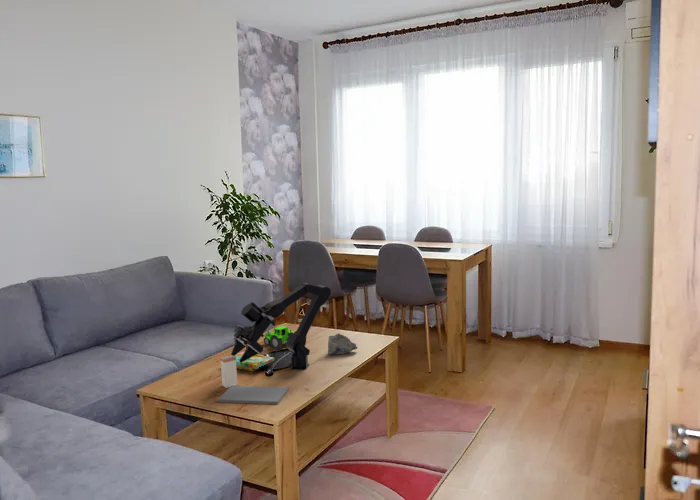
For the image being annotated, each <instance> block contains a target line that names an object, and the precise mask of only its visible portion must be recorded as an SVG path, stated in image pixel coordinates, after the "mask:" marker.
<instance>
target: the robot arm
mask: <svg viewBox="0 0 700 500" xmlns="http://www.w3.org/2000/svg"><path fill="white" fill-rule="evenodd" d="M308 293H309V294H311V296H310V297H311V298H310V300H311V301H310V303H309V306H308V307H307V309H306V311H305V313H304V315H303V317H302V319H301V321H300V324H299V326H298V327H297V329H296V331H292V332H293V333H292V332H290V334H289V337H288V338H287V339H286V340H287V343H286V344H285V345H286V347H287V349H288V350H289V351H290V353H291V354H292V357H290V358H291V360H290V361H291V364H290V365H291V370H307V369H308V367H309V365H310V363H309V361H308V359H309V358H308V356H309V355H310V352H311V351H310V349H309V348H308V347H306V344H307V335H308V333H309V331H310V329H311V327H312V325H313V323H314V322H315V319H316V317H317V315H318V313H319V312H320V309H321V307H322V306H324V304H325V303H327V302H328V300H329V299H330V298H331V295H332V291H331V288H330V287H328V286H325V285H322V284H317V285H313V284H310V283H309V282H303V283H301V285H299V286H298V287H295V288H294V289H293V290H291V291H290V292H289V293H287V294H285V295H284V296H282V297H281V298H278V299H275V300H272V301H269V302H267V303H266V304H265V305H263V306H260V307H259V306H258V305H256V303H255V302H252V301H251V302H249V303H248V304H246V305H245V306H244V307H243V308H242V310H241V311H240V312H241V313H240V314H241V316H243V317H244V318H245V319H246V320H248V321H249V322H250V323H253V324H252V325H249V326H246V325H244V326H242V325H239V324H236V326H235V329H234V331H233V333H234V334H233V340H234V345H233V348H232V351H231V353H230V355H233V356H235V355H236V354H238V353H240V352H242V351H243V349H245V350H244V351H243V352H244V354H243V355H242V357H241V359H240V360H239V362H241V363H242V362H243V361H245V360H247V359H249V358H251V357H252V356H255V355H262V353H263V351H264V346H263V345H262V344H260V343H259V342H258V341H260V339H261V338H265V334H264V333H265V332H267V330H268V329H269V327H270V326H272V327H276V324H275V323H276V322H275V319H277V318H279V317H280V316H281V315H282V314H283V313H284V312H285V311H286V310H287V308H288V307H290V306H291V305H292V304H293V303H295V302H297V301H298V300H300V299H301V298H302V297H304V296H306V295H307V294H308ZM270 317H271V318H270Z"/></svg>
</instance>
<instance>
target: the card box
mask: <svg viewBox="0 0 700 500" xmlns="http://www.w3.org/2000/svg"><path fill="white" fill-rule="evenodd" d="M219 358H220V370H221V371H220V372H221V385H222V386H223V387H224V388H225V389H229V388H230V387H231V386H239V385H238V372H237V371H238V370H237V368H236V357H235V356H233V355H231V354H230V355H226V356H220V357H219Z"/></svg>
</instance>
